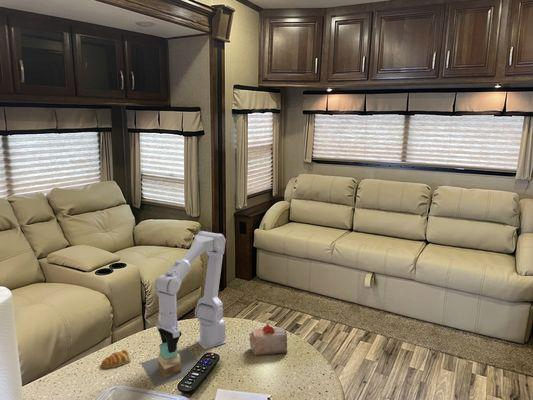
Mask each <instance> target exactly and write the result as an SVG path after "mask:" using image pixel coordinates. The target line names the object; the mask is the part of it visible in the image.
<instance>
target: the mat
mask: <svg viewBox="0 0 533 400" xmlns="http://www.w3.org/2000/svg"><path fill="white" fill-rule="evenodd" d="M178 354H179V355H180V363H181V372H180V373H177V374H174V375H171V376H169V377H166V378H164V377H163V375H162V374H161V372H160V371H159V370H158V361H159V356H158V357H155V358H152V359H149V360H145V361H143V362H140V365H141V367H142V368H143V369H144V371H145V373H146V374H147V376H148V377H149V379H150V380H151V382H152V384H153V385H154V387H156V388H157V387H159V386H163V385H165V384H168V383H171V382H174V381H177V380H180V379H182V378H186V377H187V376H186V375H187V374H188V372H190V370H191V369H192V368H193V367H194V366H195V364H196V363H197V362H198V361H200V360H199V359H198V357H196V356H195V354H194V353H193V352H192V351H191V350H190V348H184V349H181V350H178ZM185 376H186V377H185Z"/></svg>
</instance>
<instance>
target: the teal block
mask: <svg viewBox="0 0 533 400" xmlns="http://www.w3.org/2000/svg"><path fill="white" fill-rule="evenodd" d="M178 351H179V350H178V346H177V347H176V351H175V352H172V353H169V351H168V347H167V342H166V343H162V342H161V343H160V344H159V353H160V354H161V356H162V357H163V358H164V360H166V359H170V358H173V357H176V356H178Z"/></svg>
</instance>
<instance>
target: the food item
mask: <svg viewBox="0 0 533 400" xmlns="http://www.w3.org/2000/svg"><path fill="white" fill-rule="evenodd" d="M249 345H250V349H251V350H252V353H253V355H254V356H263V355H270V354H271V355H273V354H283V353H284V354H285V353H286V354H287V353H288V333H287V330H286V329H285V327H273V326H271V325H269V324H268V323H267V324H265V326H263V328H258V329H253V330H252V332H250V333H249Z"/></svg>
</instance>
